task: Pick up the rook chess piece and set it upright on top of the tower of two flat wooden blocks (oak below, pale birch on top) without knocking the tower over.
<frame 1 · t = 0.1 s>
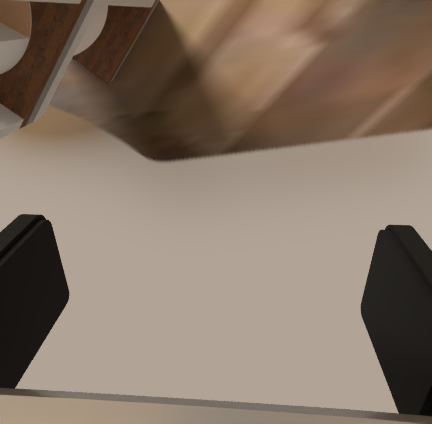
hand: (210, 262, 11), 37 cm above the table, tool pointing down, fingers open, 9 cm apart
display case: (92, 8, 41), on the table
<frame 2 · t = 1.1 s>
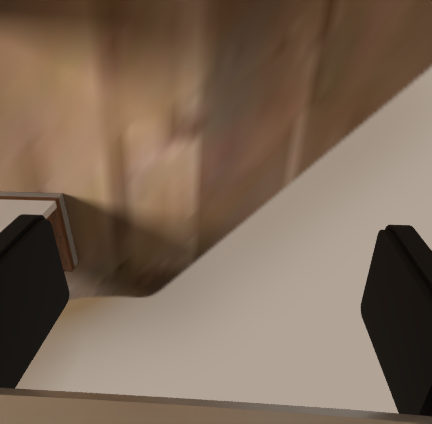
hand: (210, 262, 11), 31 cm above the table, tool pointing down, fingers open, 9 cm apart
display case: (29, 227, 48), on the table
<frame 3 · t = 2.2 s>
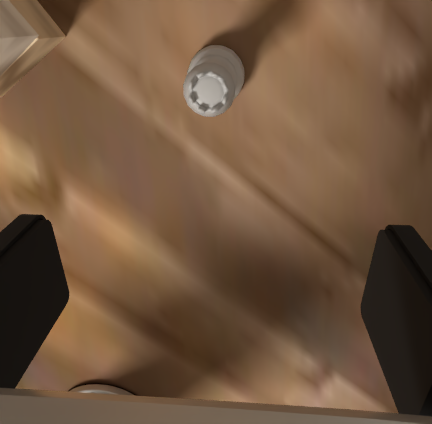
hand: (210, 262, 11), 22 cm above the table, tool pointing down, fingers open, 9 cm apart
rook chess piece: (216, 74, 29), on the table
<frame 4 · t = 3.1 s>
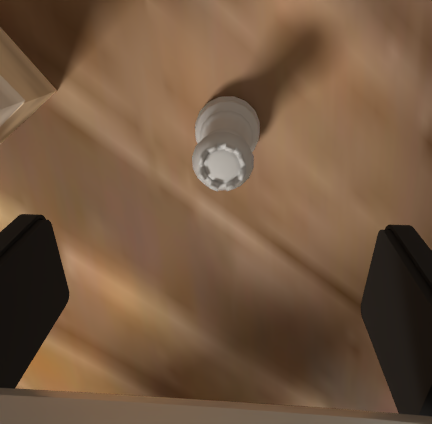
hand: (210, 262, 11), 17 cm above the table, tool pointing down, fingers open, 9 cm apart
rook chess piece: (227, 126, 26), on the table
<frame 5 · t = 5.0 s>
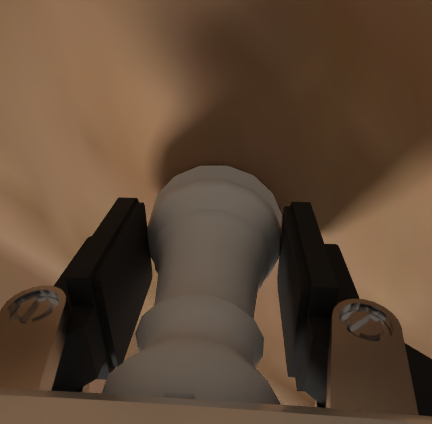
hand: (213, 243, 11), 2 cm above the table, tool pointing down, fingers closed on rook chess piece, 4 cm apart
rook chess piece: (217, 216, 13), on the table, touching gripper
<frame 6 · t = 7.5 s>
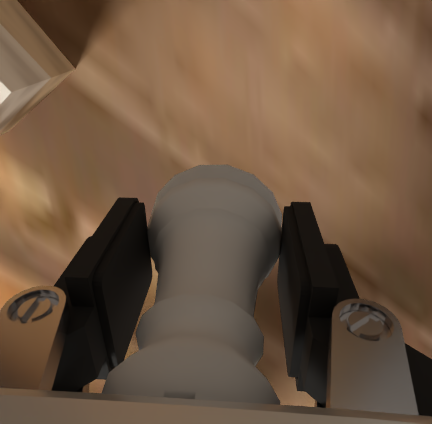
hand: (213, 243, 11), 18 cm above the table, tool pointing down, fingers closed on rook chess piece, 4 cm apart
tower base: (1, 55, 27), on the table, touching tower top
rook chess piece: (217, 215, 13), point 17 cm above the table, touching gripper
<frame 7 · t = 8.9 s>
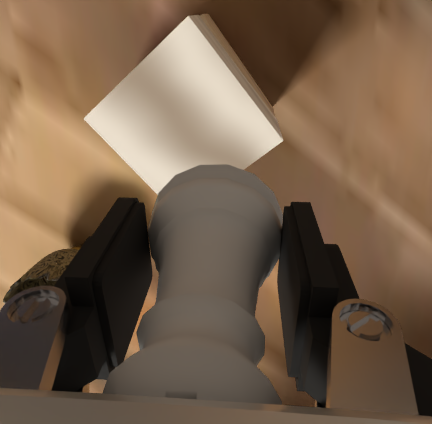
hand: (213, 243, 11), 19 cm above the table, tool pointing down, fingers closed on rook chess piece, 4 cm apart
tower base: (200, 95, 28), on the table
tower top: (193, 110, 24), point 4 cm above the table
rook chess piece: (218, 215, 13), point 17 cm above the table, touching gripper
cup: (87, 256, 37), on the table
when the fingers open (11 cm above the table, at t = 11.0 s): rook chess piece stays where it is, resting on tower top.
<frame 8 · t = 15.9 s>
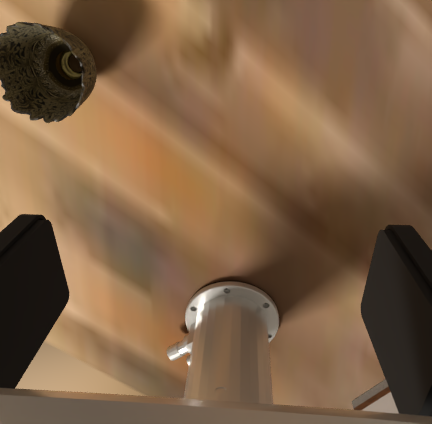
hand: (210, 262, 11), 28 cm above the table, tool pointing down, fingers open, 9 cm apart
display case: (404, 396, 55), on the table
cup: (77, 63, 35), on the table
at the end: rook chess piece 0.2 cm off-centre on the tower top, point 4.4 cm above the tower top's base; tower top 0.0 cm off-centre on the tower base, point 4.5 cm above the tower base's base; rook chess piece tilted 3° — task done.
